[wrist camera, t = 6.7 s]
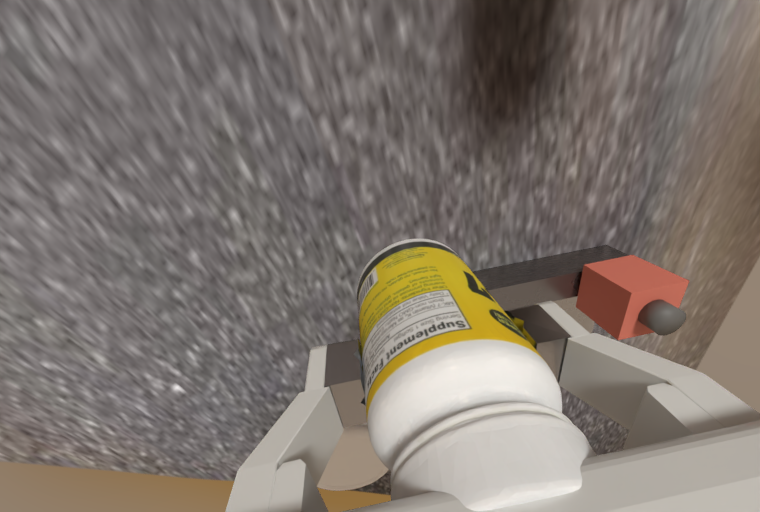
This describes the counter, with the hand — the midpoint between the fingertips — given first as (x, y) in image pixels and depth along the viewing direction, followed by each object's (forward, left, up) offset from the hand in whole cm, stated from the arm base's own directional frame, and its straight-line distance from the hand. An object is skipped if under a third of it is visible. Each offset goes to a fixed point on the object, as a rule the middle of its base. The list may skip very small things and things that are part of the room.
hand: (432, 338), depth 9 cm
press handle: (-17, +8, -10) cm, 21 cm away
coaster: (+7, +24, -14) cm, 29 cm away
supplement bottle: (0, 0, -3) cm, 3 cm away
